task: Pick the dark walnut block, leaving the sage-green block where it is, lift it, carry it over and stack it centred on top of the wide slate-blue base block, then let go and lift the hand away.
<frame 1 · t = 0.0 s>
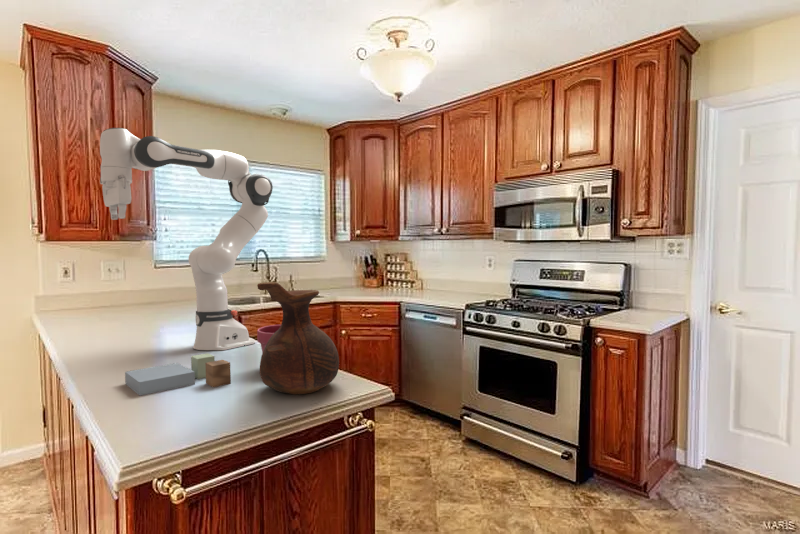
hand: (118, 219, 153), 48 cm above the countertop, fingers open, 8 cm apart
slate base block: (160, 385, 130), on the countertop
plant pot: (281, 368, 146), on the countertop
walnut block: (218, 383, 130), on the countertop
jug: (299, 388, 125), on the countertop
sage block: (203, 375, 138), on the countertop
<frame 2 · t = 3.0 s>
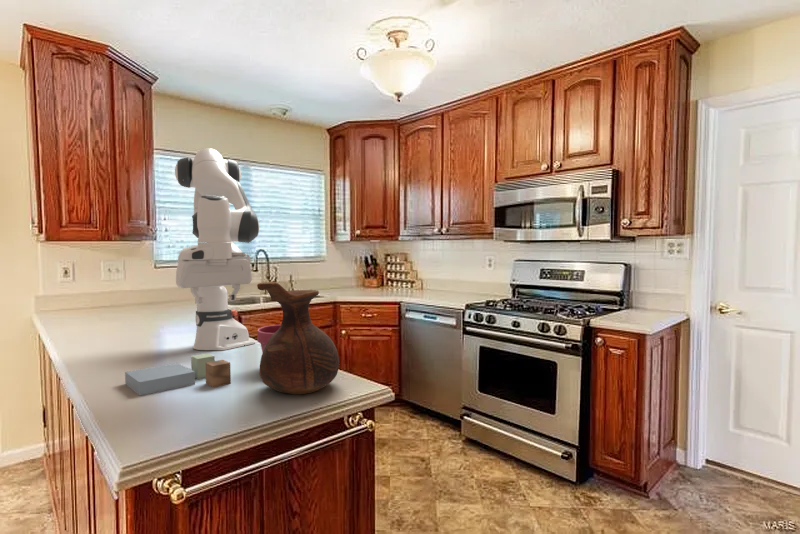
hand: (216, 302, 129), 23 cm above the countertop, fingers open, 8 cm apart
nothing on the countertop moved.
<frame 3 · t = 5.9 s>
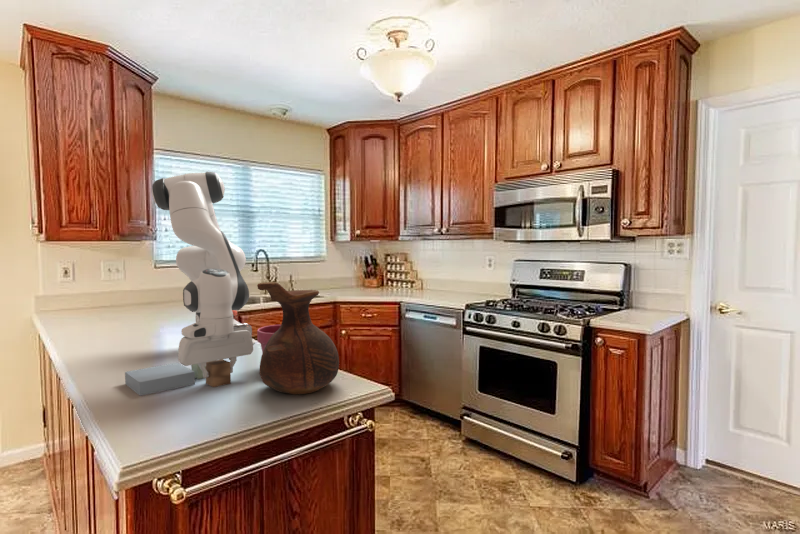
hand: (218, 375, 130), 2 cm above the countertop, fingers closed on walnut block, 5 cm apart
walnut block: (218, 383, 130), on the countertop, touching gripper
everything else where it was.
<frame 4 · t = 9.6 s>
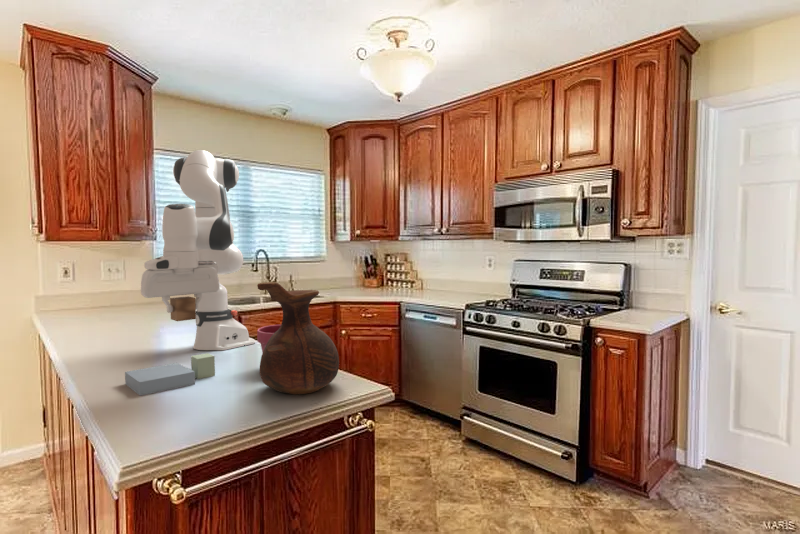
hand: (182, 310, 129), 21 cm above the countertop, fingers closed on walnut block, 5 cm apart
walnut block: (183, 319, 129), point 18 cm above the countertop, touching gripper
everything else where it was.
when the fingers open (8 cm above the countertop, at t = 13.4 s): walnut block drops 2 cm, point 3 cm above the countertop.
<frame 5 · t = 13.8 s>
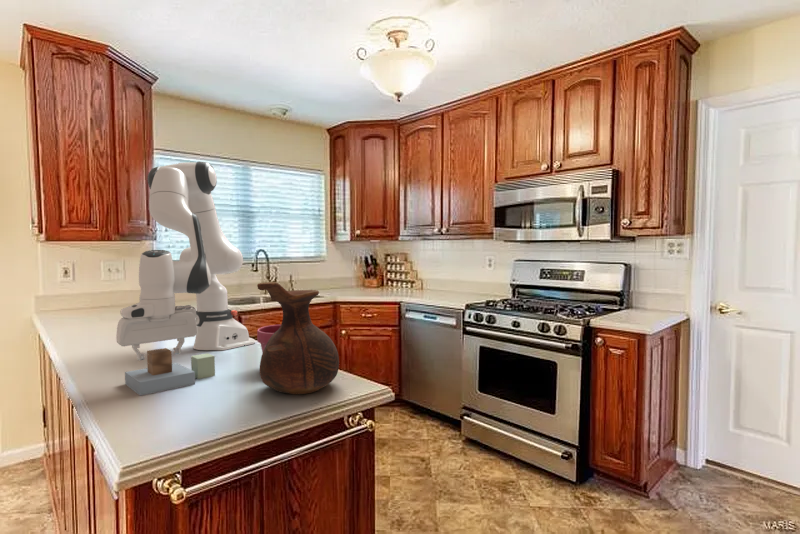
hand: (159, 356, 129), 8 cm above the countertop, fingers open, 8 cm apart
walnut block: (159, 371, 130), point 3 cm above the countertop
everything else where it was.
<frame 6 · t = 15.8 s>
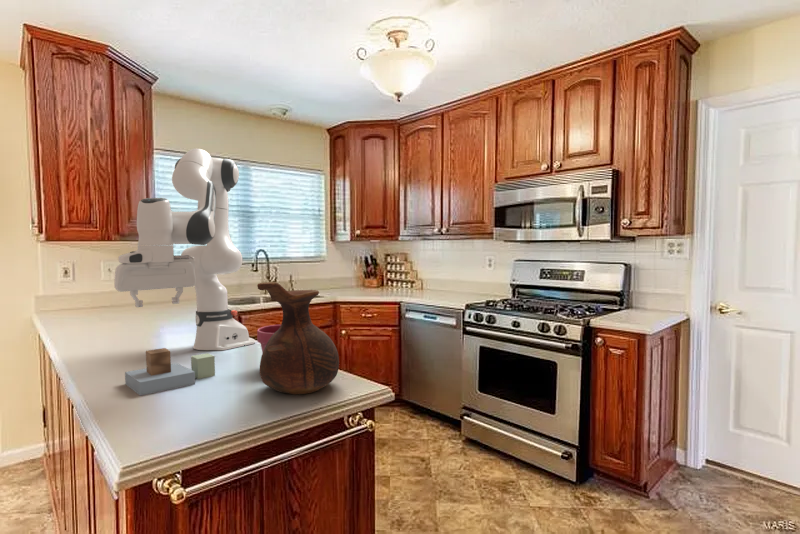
hand: (157, 305, 129), 22 cm above the countertop, fingers open, 8 cm apart
slate base block: (160, 385, 130), on the countertop, touching walnut block
walnut block: (158, 371, 129), point 3 cm above the countertop, touching slate base block
everything else where it was.
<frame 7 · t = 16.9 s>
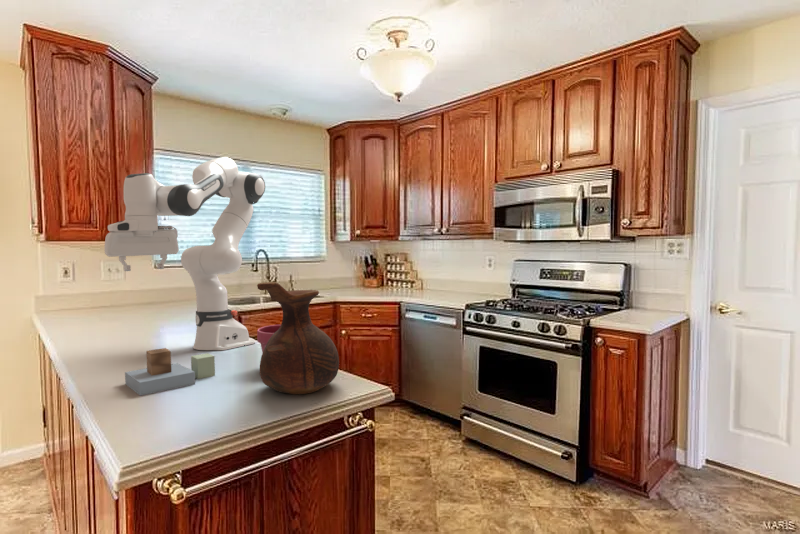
hand: (144, 270, 143), 31 cm above the countertop, fingers open, 8 cm apart
slate base block: (160, 385, 130), on the countertop
walnut block: (159, 371, 129), point 3 cm above the countertop
everything else where it was.
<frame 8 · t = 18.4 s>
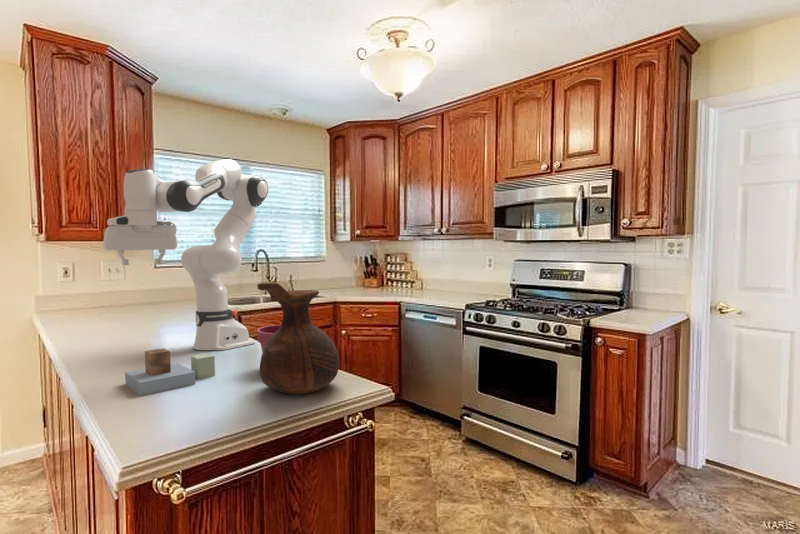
hand: (142, 264, 144), 33 cm above the countertop, fingers open, 8 cm apart
nothing on the countertop moved.
at the end: walnut block 0.4 cm off-centre on the slate base block, point 4.0 cm above the slate base block's base; walnut block tilted 0°; the gripper is holding nothing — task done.
